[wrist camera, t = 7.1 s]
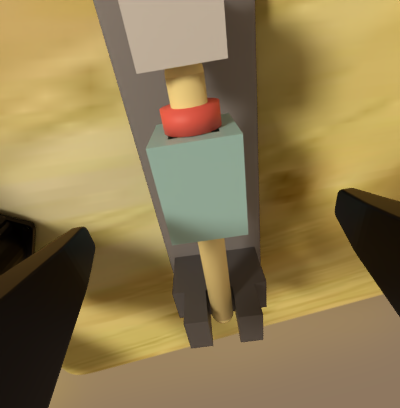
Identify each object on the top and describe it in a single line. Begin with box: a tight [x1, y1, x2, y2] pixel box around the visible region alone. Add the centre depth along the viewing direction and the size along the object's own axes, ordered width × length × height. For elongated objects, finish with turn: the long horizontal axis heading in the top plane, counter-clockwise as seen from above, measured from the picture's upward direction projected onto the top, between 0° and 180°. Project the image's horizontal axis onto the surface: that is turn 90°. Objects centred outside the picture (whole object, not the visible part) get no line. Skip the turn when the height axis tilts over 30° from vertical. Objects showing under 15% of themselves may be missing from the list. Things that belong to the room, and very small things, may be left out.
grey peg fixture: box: [93, 0, 266, 348], centre depth 15 cm, size 22×8×8 cm, turn 8°
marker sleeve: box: [146, 113, 248, 245], centre depth 12 cm, size 5×4×4 cm
